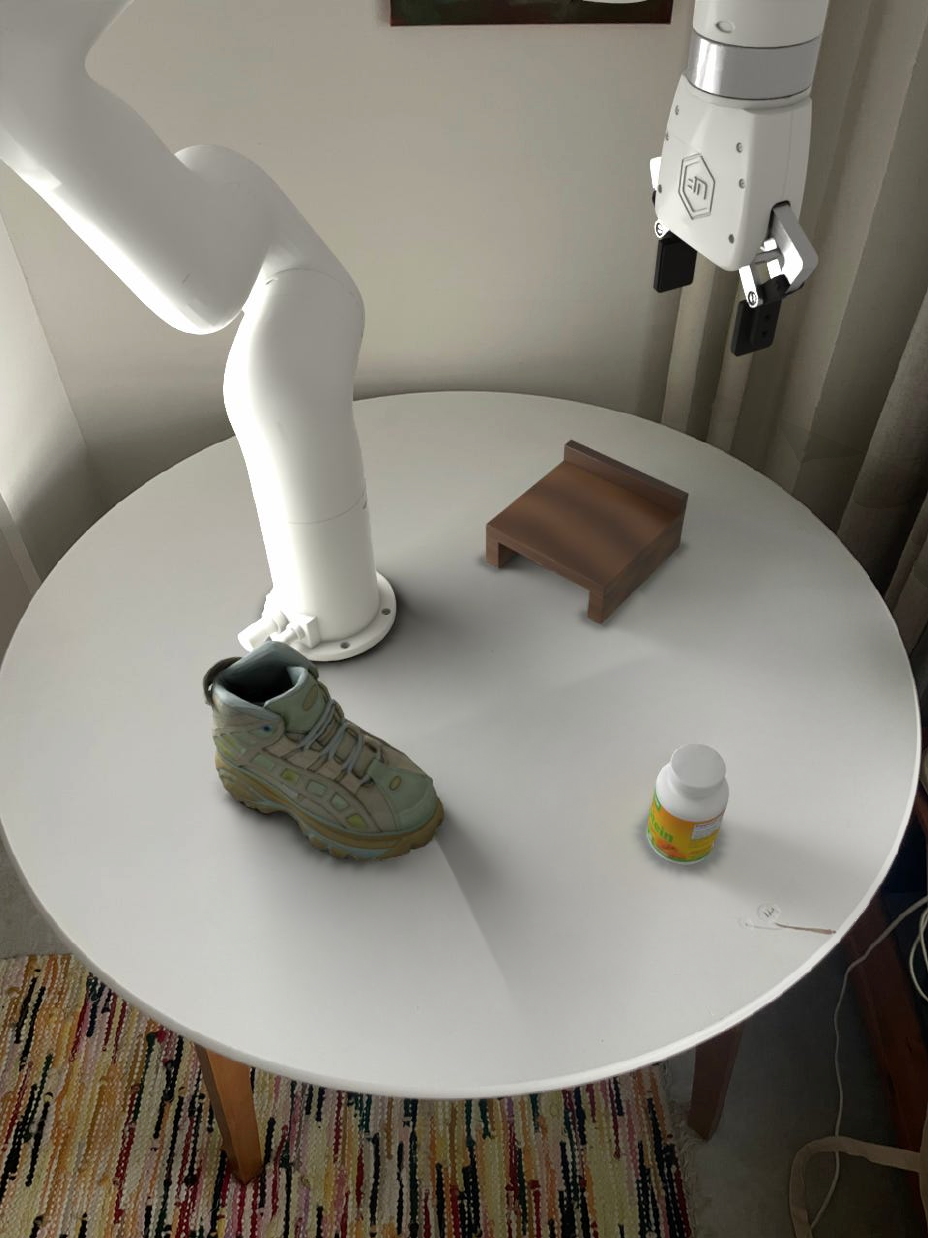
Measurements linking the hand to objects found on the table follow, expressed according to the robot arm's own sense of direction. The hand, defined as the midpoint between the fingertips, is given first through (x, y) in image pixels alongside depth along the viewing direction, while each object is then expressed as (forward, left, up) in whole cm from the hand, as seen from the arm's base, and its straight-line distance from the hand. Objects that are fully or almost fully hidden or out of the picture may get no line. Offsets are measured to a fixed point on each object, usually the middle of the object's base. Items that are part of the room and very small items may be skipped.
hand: (710, 317), depth 74 cm
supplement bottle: (-19, -14, -32) cm, 40 cm away
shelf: (+3, +11, -32) cm, 34 cm away
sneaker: (-34, +10, -32) cm, 48 cm away
